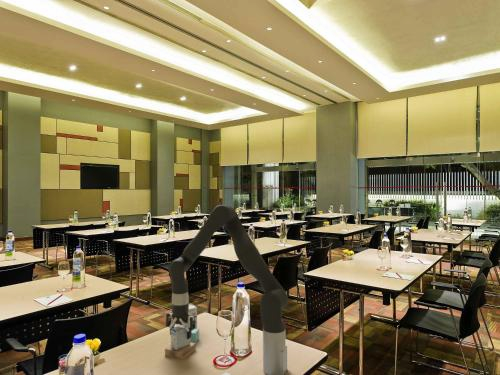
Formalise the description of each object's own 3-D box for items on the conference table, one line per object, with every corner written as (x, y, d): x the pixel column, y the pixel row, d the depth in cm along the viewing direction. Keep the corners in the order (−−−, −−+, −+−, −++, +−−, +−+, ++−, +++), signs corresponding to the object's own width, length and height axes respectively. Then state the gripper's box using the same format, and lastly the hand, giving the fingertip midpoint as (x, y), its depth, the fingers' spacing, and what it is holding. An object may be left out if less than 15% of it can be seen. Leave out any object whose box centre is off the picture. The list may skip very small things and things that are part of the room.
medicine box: (184, 341, 169) (184, 323, 169) (190, 344, 166) (190, 325, 166) (170, 347, 163) (170, 328, 163) (176, 350, 160) (176, 331, 160)
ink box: (182, 332, 187) (182, 309, 187) (178, 329, 191) (178, 307, 191) (197, 328, 191) (197, 306, 191) (193, 325, 196) (193, 304, 195)
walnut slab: (195, 350, 167) (195, 343, 167) (183, 360, 158) (183, 352, 158) (177, 347, 171) (177, 339, 171) (164, 356, 162) (164, 348, 162)
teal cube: (198, 339, 179) (198, 329, 179) (195, 343, 174) (195, 333, 174) (189, 338, 180) (189, 328, 180) (185, 342, 175) (185, 332, 175)
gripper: (198, 301, 165) (198, 336, 165) (171, 297, 171) (172, 331, 171) (189, 306, 158) (189, 343, 159) (162, 302, 164) (162, 338, 164)
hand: (180, 337), depth 165 cm, fingers open, 8 cm apart
